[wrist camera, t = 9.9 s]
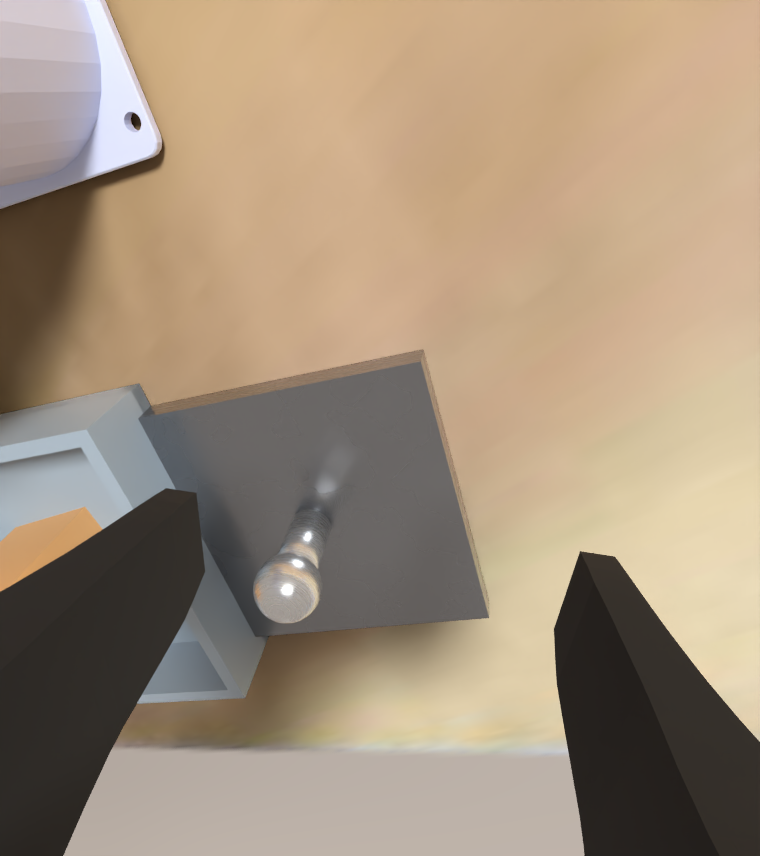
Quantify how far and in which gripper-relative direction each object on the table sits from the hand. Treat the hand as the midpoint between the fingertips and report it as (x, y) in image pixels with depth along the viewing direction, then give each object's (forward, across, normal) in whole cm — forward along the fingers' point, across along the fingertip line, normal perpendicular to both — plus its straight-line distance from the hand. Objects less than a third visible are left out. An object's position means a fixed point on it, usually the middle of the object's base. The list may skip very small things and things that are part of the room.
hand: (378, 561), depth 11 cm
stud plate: (+10, +4, +8) cm, 13 cm away
